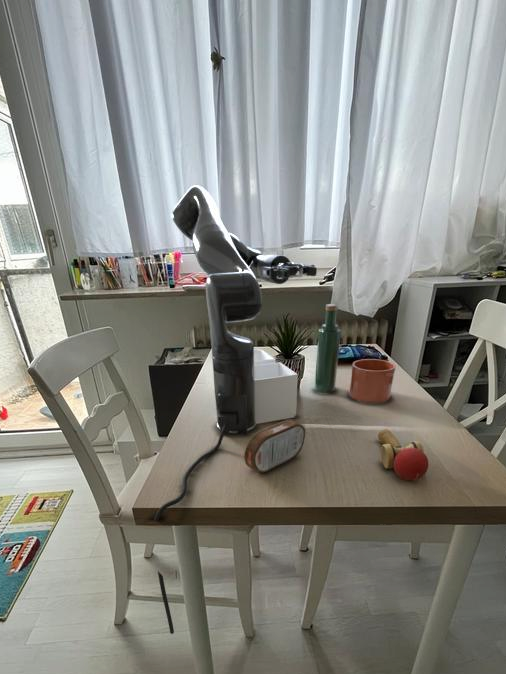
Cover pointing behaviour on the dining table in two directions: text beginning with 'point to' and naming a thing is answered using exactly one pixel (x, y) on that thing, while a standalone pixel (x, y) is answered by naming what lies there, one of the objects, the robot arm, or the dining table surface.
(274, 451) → the tin
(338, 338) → the bottle
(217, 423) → the robot arm
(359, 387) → the plant pot
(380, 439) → the kendama
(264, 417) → the storage container
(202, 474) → the dining table surface
